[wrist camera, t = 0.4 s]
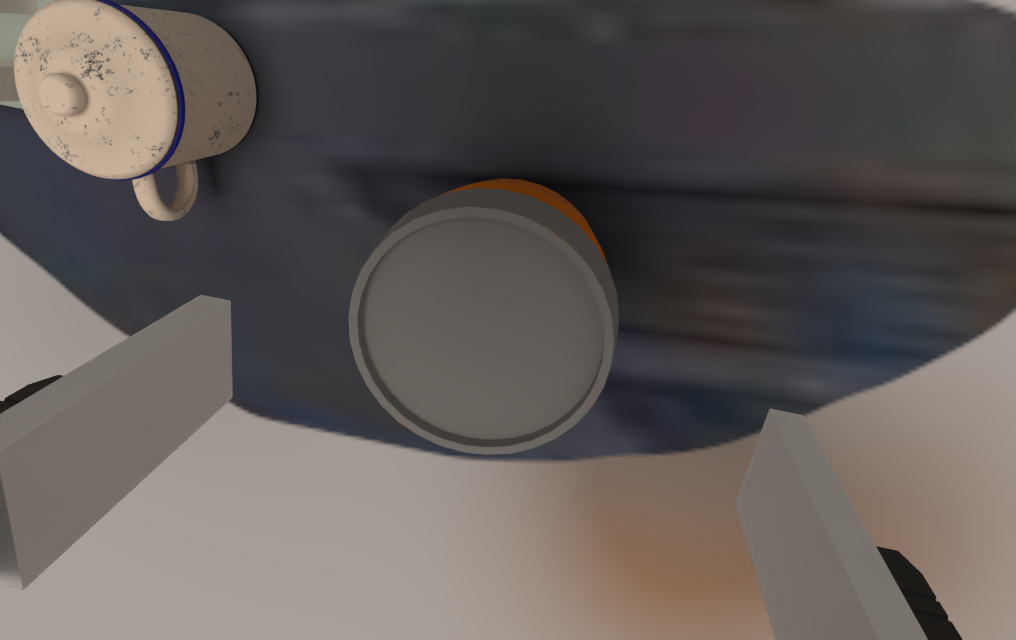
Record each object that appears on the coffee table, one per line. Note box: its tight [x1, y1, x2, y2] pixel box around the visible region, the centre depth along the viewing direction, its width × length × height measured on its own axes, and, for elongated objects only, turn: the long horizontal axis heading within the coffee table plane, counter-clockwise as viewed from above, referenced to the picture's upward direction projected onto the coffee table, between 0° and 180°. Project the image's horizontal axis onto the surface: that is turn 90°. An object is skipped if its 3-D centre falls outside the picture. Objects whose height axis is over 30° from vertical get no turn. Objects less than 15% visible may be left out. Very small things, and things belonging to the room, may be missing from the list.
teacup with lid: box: [14, 0, 256, 221], centre depth 37 cm, size 12×9×12 cm
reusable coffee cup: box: [349, 178, 619, 455], centre depth 36 cm, size 13×13×15 cm
